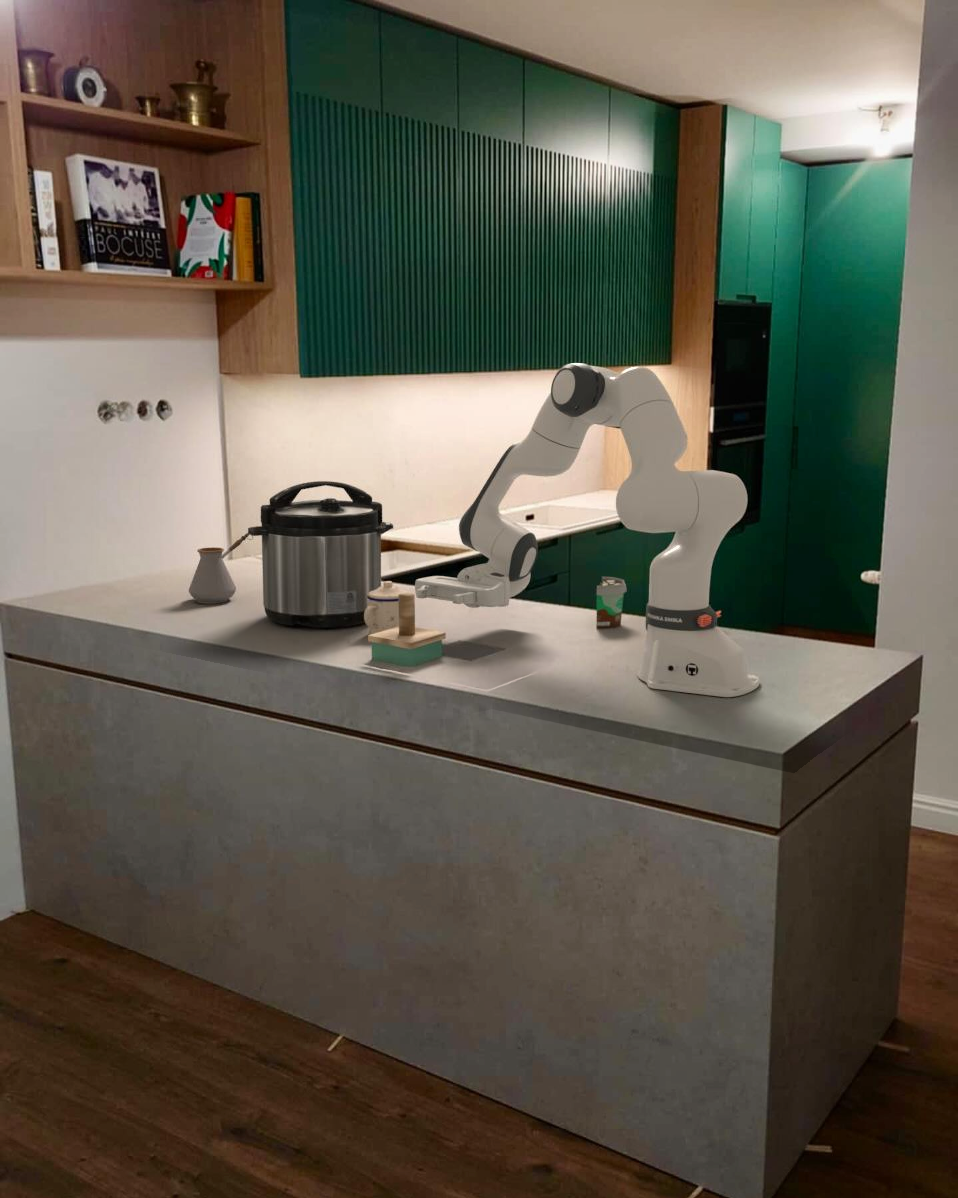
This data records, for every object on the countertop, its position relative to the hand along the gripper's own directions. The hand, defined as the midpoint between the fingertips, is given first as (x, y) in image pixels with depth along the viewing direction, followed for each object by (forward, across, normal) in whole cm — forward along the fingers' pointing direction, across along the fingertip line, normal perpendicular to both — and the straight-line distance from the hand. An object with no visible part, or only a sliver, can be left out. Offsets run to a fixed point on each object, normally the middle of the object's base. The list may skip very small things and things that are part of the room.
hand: (436, 597), depth 243 cm
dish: (+10, 0, +11) cm, 15 cm away
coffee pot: (-12, -76, +12) cm, 78 cm away
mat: (-2, +6, +11) cm, 13 cm away
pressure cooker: (-8, -40, +11) cm, 42 cm away
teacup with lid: (-3, -17, +11) cm, 21 cm away
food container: (-41, +18, +11) cm, 46 cm away
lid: (+10, 0, +7) cm, 12 cm away
